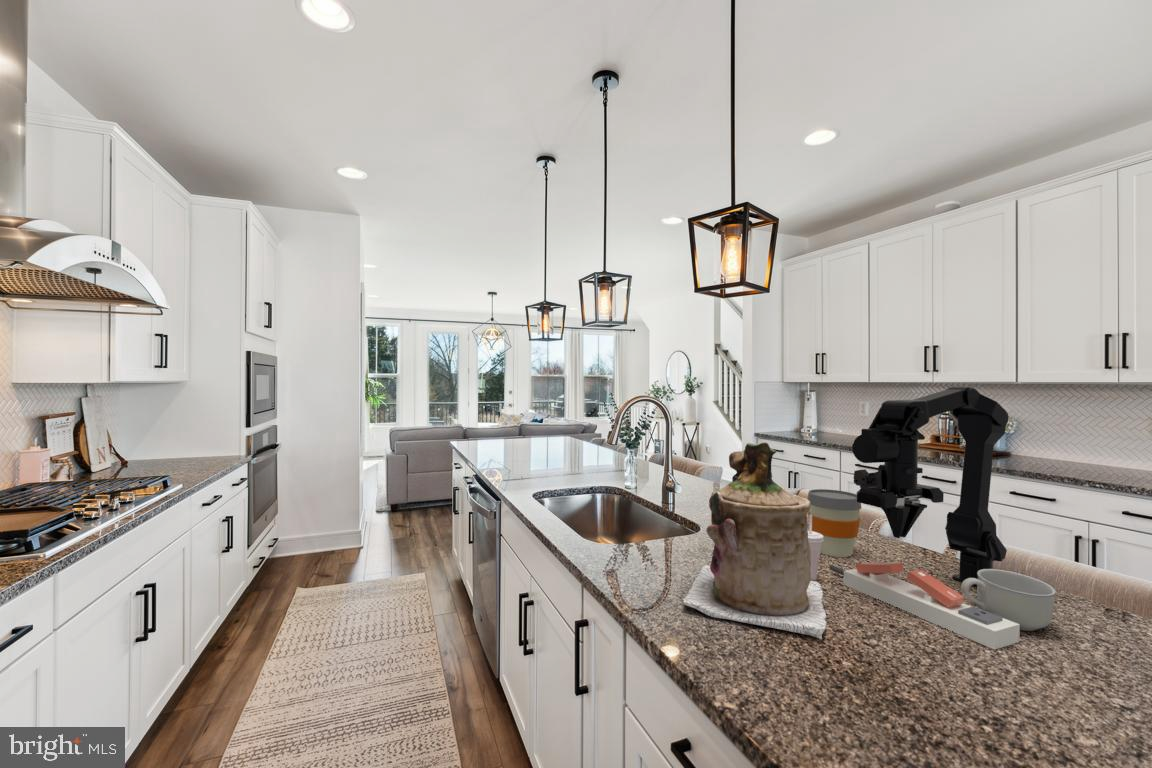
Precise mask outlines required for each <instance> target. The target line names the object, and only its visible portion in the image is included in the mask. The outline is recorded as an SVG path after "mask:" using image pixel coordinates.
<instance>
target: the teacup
mask: <svg viewBox="0 0 1152 768" xmlns="http://www.w3.org/2000/svg"><path fill="white" fill-rule="evenodd" d="M977 575H978V579H976V578H967V579H965V580H964V581H961V585H960V589H961V593H962V594H963V597H964V598H966V599H967V600H969V601H970V602H971V603H972V604H975V605H976V607H977V608H979V609H982V610H984V611H987V612H990V613H992V614H995V615H998V616H1000V617H1003V618H1004V619H1007V620H1009V621H1012V622H1015V623H1018V624H1020V631H1027V632H1033V631H1038V630H1040V629H1042V628H1045V627H1047V626H1049V625H1050V623H1051V622H1052V619H1053V616H1054V605H1055V595H1056V593H1057V591H1056V589H1055V588H1054V587H1052V586H1051V585H1050V584H1049V583H1046V582H1044V581H1042V580H1041V579H1038V578H1035V577H1033V576H1029V575H1025V574H1023V573H1018V572H1015V571H1010V570H1003V569H997V568H993V569H982V570H979V571H978V572H977ZM973 584H976V585H977V586H976V588H977V589H976V598H975V597H974V596H973V595H972V594H971V593H970V588H971V587H972V586H974V585H973Z"/></svg>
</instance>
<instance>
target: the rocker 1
mask: <svg viewBox="0 0 1152 768" xmlns="http://www.w3.org/2000/svg"><path fill="white" fill-rule="evenodd" d="M855 569H857V572H868V573H888V574H895V573H902V572H905V569H904V565H903V563H902V562H886V561H885V562H883V561H882V562H881V561H880V562H877V561H873V562H872V561H869V562H867V561H866V562H860V563H856V564H855Z"/></svg>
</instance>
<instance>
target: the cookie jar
mask: <svg viewBox="0 0 1152 768" xmlns="http://www.w3.org/2000/svg"><path fill="white" fill-rule="evenodd" d="M776 453H777V451H776V449H773V448H771V447H770V444H769V443H768V442H766V441H762V442H760V443H758V444H756V443H755V444H754V443H750V442H748V443H746V445H745V447H744V450H741V451H740V450H739V451H732V452H731V453H730V454H729V456H728V461H729V462H728V463H729V464H728V465H729V467H730V468H731V469H732V470H735V472H736V473H735V474H733V476H732V481H731V482H730V483H728V484H726V485H725V486H724V487H722V488H720V489H719V490H716V491H712V492H711V496H710V497H709V500H708V507H709V510H710V511H711V515H710V517H711V520H710V521H711V524H710V525H708V526H706V534H707V536H708V537H709V538H710V539H711V540H712V541H713V543H714V546H713V550H712V554H711V561H710V565H707V564H705V565H703V566H701V568H700V572H699V574H698V576H696V577H695V578H694V579H693V580H694V581H693V584H692V585H691V588H690V589H689V591H688V593H687V595H686V596H685V597H684V599H683V600H682V601H683V606H685V607H686V606H687V607H690V608H693V609H695V610H697V611H699V612H701V613H703V614H705V615H706V616H709V617H712V618H716V619H724V620H730V621H733V622H734V621H735V622H740V623H746V624H750V625H756V626H760V627H766V628H770V629H771V628H773V629H777V630H781V631H782V630H783V631H787V632H791V633H797V634H801V635H807V636H810V637H813V638H817V639H819V640H820V641H822V640H823V636H822V635H823V633H824V632H825V630H826V629H827V627H826V626H827V624H828V622H827V620H826V618H827V613H826V610H825V608H824V605H823V599H824V593H823V592H824V590H823V588H822V585H821V583H819V582H818V581H816V580H811V573H810V568H811V550H810V545H809V542H808V531H809V530H808V528H809V527H808V526H809V525H808V519H807V518H808V517H807V515H808V512H809V511H810V506H811V503H810V501H809V500H808V498H806V497H804V496H803V497H802V496H799V495H797V494H794V493H789V492H788V491H786V490H784V489H783V488H782V487H781V486H780V485H779V484H777V483H776V482H775V481H774V480H773V479H772V478H773V474H772V461H773V456H774V455H775V454H776ZM807 530H808V531H807Z"/></svg>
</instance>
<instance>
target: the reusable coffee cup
mask: <svg viewBox="0 0 1152 768" xmlns="http://www.w3.org/2000/svg"><path fill="white" fill-rule="evenodd" d="M856 497H857V493H853V492H849V491H843V490H839V489H838V490H836V489H823V488H821V489H820V488H819V489H810V490H808V494H807V500H809V501H810V503H811V506H810V510H809V511H808V513H807V515H808V517H809V515H812V531H813V532H817V533H820V534H822V535H823V540H824V541H823V542H822V545H821V551H820V554H821V553H822V554H821V555H824V554H825V555H824V556H828V555H829V556H828V557H834V558H849V557H848V556H850V557H852V556H853V555H852V554H854V547H855V542H856V538H857V537H858V534H859V530H860V529H859V528H860V522H861V518H860V517H859V516H860V510H861V509H862V503H859V502H857V501H856ZM851 555H852V556H851Z"/></svg>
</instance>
